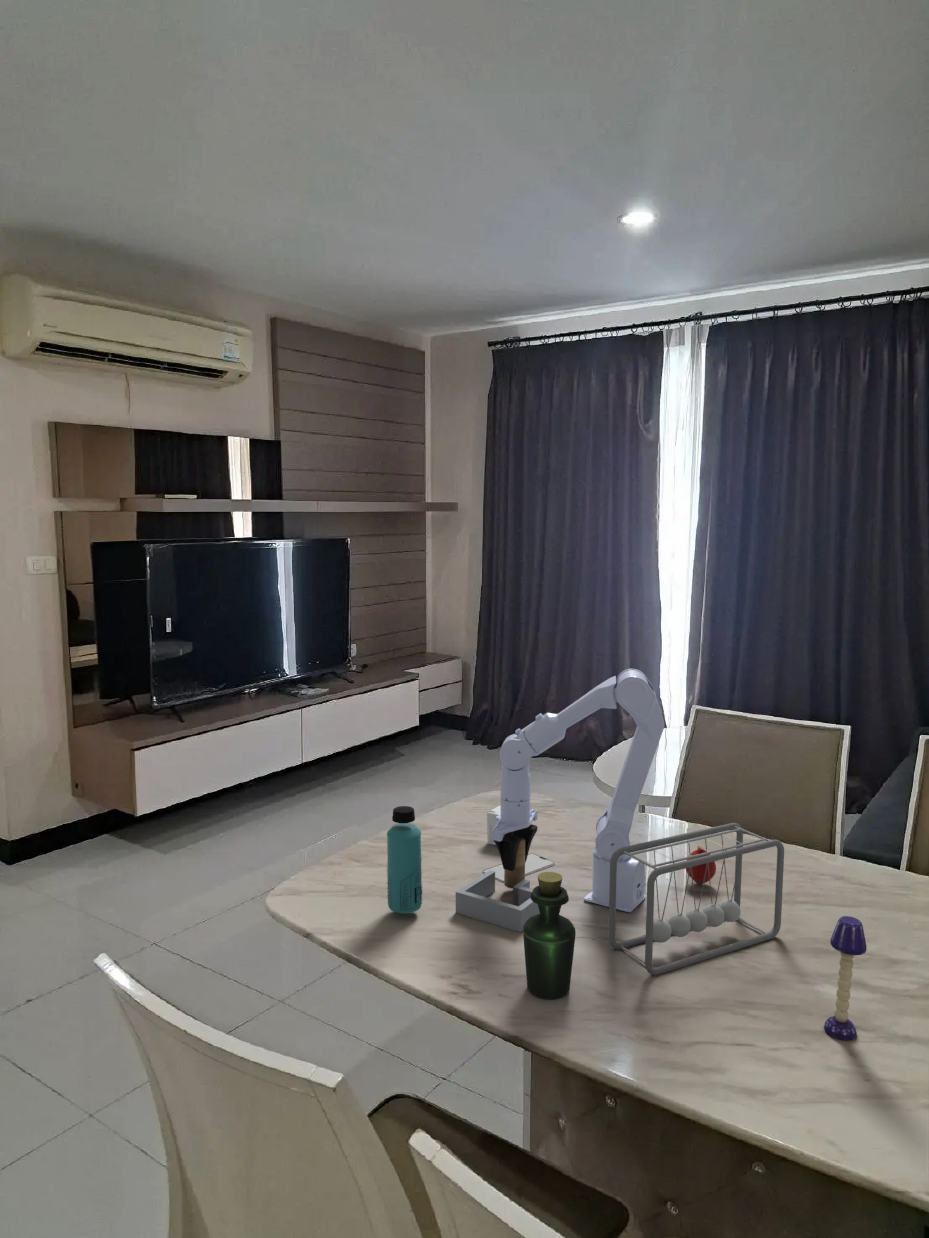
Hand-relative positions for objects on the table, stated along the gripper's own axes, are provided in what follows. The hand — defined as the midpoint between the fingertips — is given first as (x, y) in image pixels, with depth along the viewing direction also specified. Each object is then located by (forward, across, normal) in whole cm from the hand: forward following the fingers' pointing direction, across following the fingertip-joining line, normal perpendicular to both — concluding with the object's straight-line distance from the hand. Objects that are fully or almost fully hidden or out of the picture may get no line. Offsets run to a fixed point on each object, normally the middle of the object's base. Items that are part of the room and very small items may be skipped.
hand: (514, 865), depth 166 cm
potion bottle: (+6, +28, +22) cm, 36 cm away
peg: (+4, 0, 0) cm, 4 cm away
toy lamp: (+6, +14, +62) cm, 64 cm away
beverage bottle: (+6, +20, -12) cm, 24 cm away
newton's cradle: (+6, 0, +36) cm, 37 cm away
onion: (+6, -24, +29) cm, 38 cm away
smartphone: (+6, -10, -5) cm, 13 cm away
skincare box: (+6, -22, -15) cm, 27 cm away
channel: (+5, +8, +2) cm, 10 cm away
